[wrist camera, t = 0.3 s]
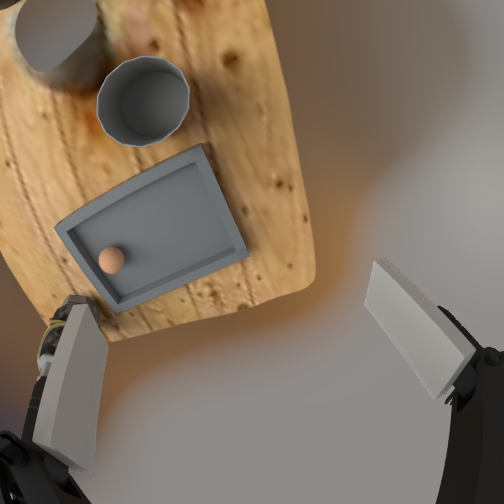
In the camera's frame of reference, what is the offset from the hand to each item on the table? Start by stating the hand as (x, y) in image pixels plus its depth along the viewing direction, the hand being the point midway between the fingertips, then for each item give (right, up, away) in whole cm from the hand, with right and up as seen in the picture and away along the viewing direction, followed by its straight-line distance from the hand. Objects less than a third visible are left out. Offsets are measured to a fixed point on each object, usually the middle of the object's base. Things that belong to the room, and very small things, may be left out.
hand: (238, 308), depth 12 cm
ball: (-18, +2, +24) cm, 30 cm away
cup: (-11, +20, +16) cm, 28 cm away
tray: (-13, +5, +24) cm, 28 cm away
